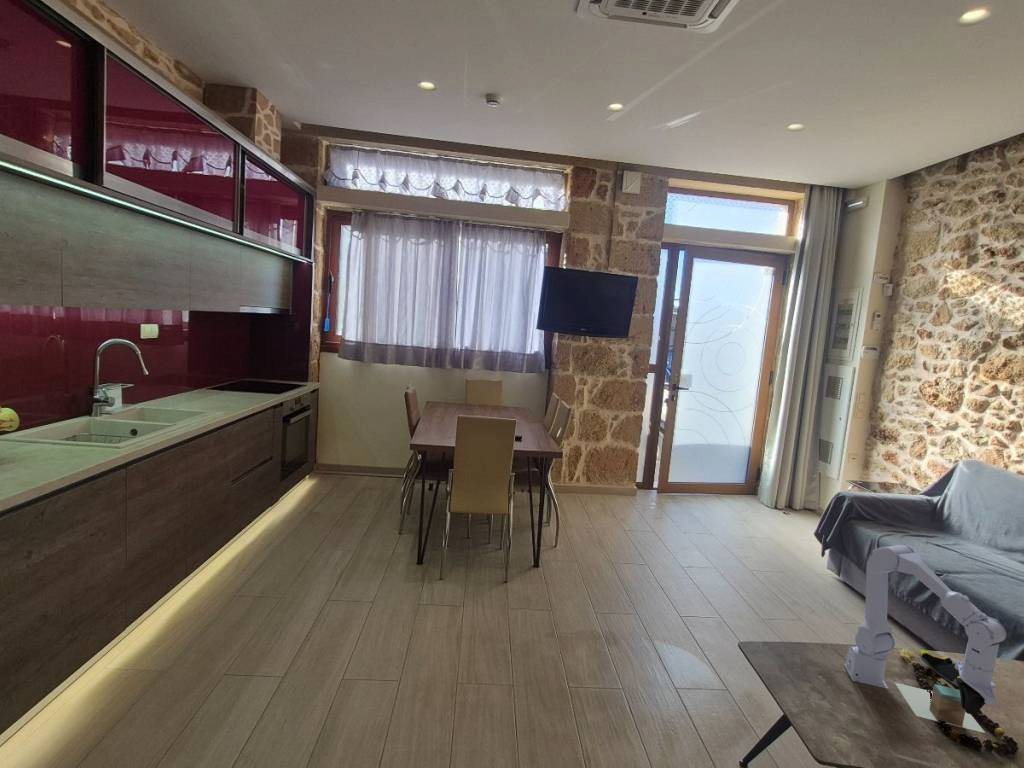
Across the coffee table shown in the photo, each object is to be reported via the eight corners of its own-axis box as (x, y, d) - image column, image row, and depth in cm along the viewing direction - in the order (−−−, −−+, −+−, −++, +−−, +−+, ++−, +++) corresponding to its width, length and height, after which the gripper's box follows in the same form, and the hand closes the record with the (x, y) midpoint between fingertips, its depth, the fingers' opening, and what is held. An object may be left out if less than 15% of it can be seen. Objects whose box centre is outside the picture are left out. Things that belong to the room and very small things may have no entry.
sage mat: (915, 717, 141) (916, 715, 141) (894, 684, 155) (894, 682, 154) (985, 735, 137) (985, 733, 137) (956, 699, 150) (957, 697, 150)
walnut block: (936, 719, 140) (941, 693, 139) (929, 709, 144) (934, 684, 143) (962, 726, 139) (967, 699, 138) (954, 715, 142) (959, 689, 141)
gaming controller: (959, 697, 151) (987, 696, 152) (962, 680, 150) (991, 679, 152) (913, 663, 166) (939, 662, 167) (916, 648, 165) (942, 647, 167)
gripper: (1016, 687, 122) (1005, 737, 124) (980, 650, 136) (971, 696, 138) (981, 679, 124) (970, 728, 126) (949, 644, 138) (940, 689, 140)
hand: (968, 711), depth 132 cm, fingers closed
